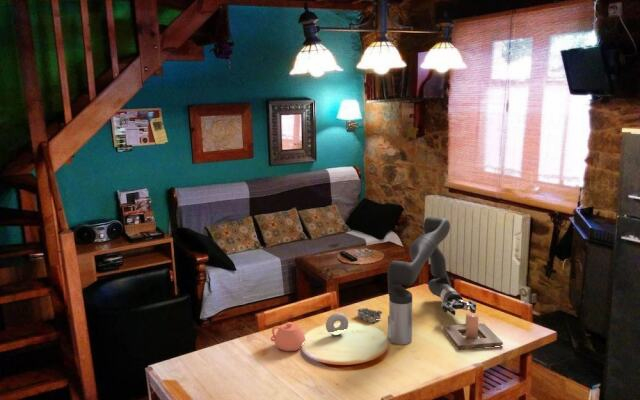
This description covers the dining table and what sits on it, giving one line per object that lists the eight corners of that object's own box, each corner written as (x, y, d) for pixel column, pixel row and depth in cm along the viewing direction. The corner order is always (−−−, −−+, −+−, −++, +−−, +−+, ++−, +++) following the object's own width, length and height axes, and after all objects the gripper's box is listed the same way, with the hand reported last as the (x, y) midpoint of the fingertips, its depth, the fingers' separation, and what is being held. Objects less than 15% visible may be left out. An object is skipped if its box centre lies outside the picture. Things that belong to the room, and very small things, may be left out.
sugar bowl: (301, 355, 204) (300, 330, 202) (266, 352, 207) (265, 328, 205) (308, 341, 216) (307, 317, 214) (275, 338, 218) (274, 315, 217)
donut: (327, 339, 217) (327, 316, 215) (324, 335, 220) (324, 313, 218) (349, 335, 220) (349, 312, 218) (346, 331, 223) (346, 309, 221)
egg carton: (383, 320, 234) (383, 311, 234) (370, 324, 230) (370, 316, 229) (367, 312, 243) (367, 304, 242) (355, 316, 239) (355, 308, 238)
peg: (467, 341, 212) (468, 318, 210) (463, 335, 217) (464, 313, 215) (479, 340, 212) (480, 317, 210) (475, 335, 217) (475, 312, 215)
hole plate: (458, 350, 205) (458, 345, 204) (443, 330, 222) (443, 325, 222) (502, 346, 207) (502, 342, 206) (483, 327, 224) (484, 323, 224)
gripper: (436, 291, 236) (448, 305, 220) (466, 289, 237) (481, 303, 221) (435, 306, 237) (447, 321, 222) (466, 304, 239) (480, 319, 223)
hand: (464, 312), depth 222 cm, fingers open, 8 cm apart
